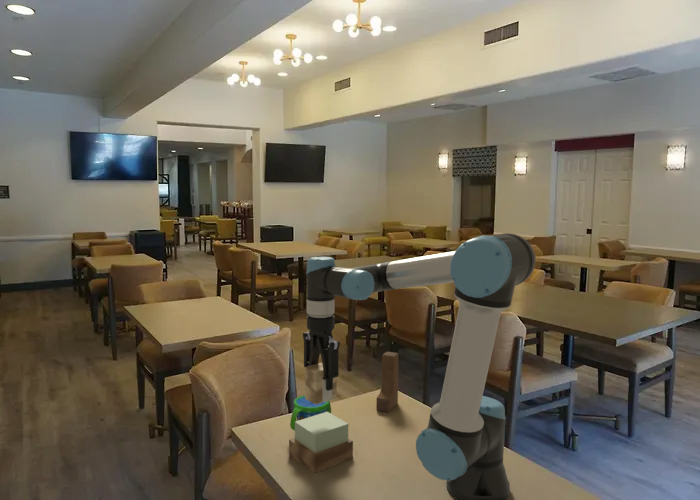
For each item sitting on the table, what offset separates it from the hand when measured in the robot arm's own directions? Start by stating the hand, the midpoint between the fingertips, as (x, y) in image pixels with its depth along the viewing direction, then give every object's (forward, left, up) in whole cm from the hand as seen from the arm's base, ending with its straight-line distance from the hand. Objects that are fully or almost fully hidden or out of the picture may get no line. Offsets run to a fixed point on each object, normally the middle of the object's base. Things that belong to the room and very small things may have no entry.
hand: (320, 397), depth 144 cm
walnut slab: (0, 0, -17) cm, 17 cm away
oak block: (0, 0, 0) cm, 0 cm away
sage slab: (0, 0, -12) cm, 12 cm away
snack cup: (+13, -6, -17) cm, 22 cm away
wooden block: (+12, -38, -17) cm, 43 cm away
